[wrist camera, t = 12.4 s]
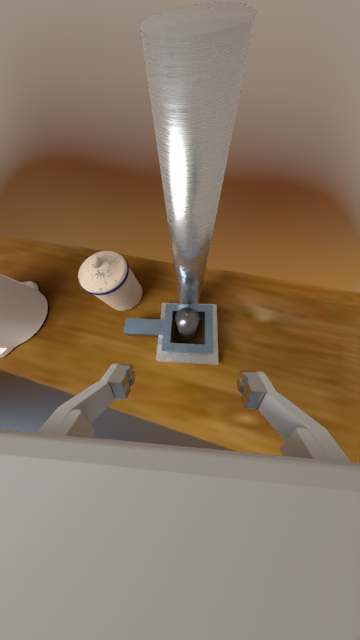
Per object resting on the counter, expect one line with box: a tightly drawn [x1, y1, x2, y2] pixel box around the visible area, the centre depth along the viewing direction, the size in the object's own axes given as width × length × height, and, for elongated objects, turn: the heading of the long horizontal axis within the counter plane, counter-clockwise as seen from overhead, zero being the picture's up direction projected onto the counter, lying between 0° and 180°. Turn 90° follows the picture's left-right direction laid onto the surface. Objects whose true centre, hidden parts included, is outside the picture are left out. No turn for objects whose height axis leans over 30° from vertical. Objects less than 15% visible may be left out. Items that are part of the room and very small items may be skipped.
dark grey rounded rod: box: [175, 307, 199, 340], centre depth 23 cm, size 3×3×10 cm
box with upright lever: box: [124, 2, 256, 365], centre depth 16 cm, size 18×15×26 cm
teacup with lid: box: [78, 251, 142, 311], centre depth 26 cm, size 12×9×12 cm
